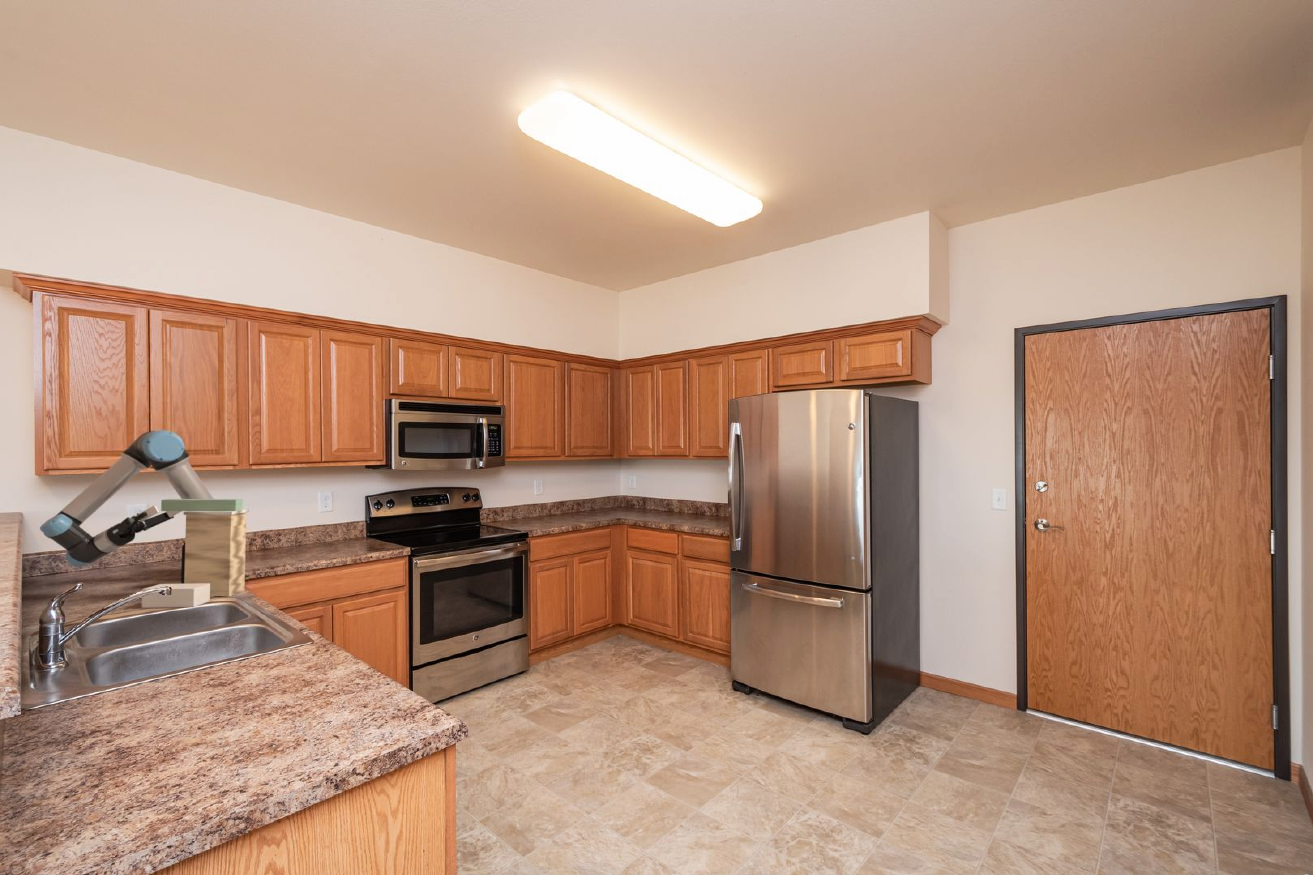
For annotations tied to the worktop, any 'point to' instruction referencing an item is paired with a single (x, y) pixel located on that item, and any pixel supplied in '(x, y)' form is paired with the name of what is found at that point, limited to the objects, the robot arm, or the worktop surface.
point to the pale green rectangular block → (201, 504)
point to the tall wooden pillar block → (216, 550)
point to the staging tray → (178, 596)
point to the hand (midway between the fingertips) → (171, 506)
